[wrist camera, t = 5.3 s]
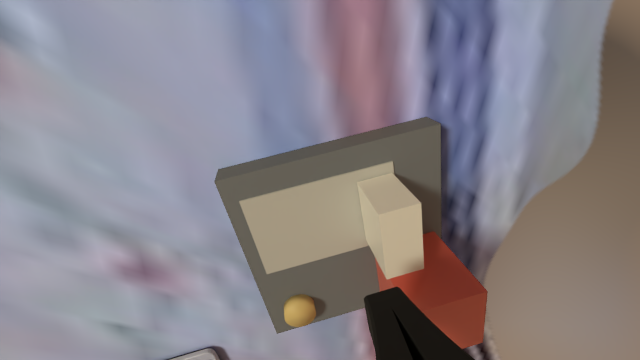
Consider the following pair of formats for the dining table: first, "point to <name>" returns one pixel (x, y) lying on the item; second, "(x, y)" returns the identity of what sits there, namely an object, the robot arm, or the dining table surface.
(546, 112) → the dining table surface
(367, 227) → the switch handle
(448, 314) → the block
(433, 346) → the robot arm
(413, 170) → the panel
